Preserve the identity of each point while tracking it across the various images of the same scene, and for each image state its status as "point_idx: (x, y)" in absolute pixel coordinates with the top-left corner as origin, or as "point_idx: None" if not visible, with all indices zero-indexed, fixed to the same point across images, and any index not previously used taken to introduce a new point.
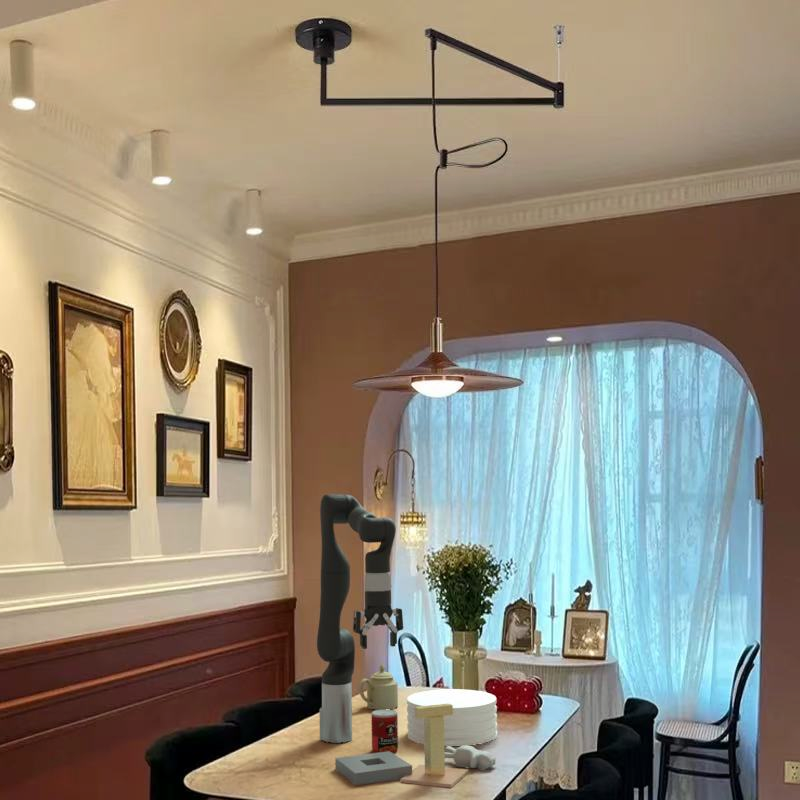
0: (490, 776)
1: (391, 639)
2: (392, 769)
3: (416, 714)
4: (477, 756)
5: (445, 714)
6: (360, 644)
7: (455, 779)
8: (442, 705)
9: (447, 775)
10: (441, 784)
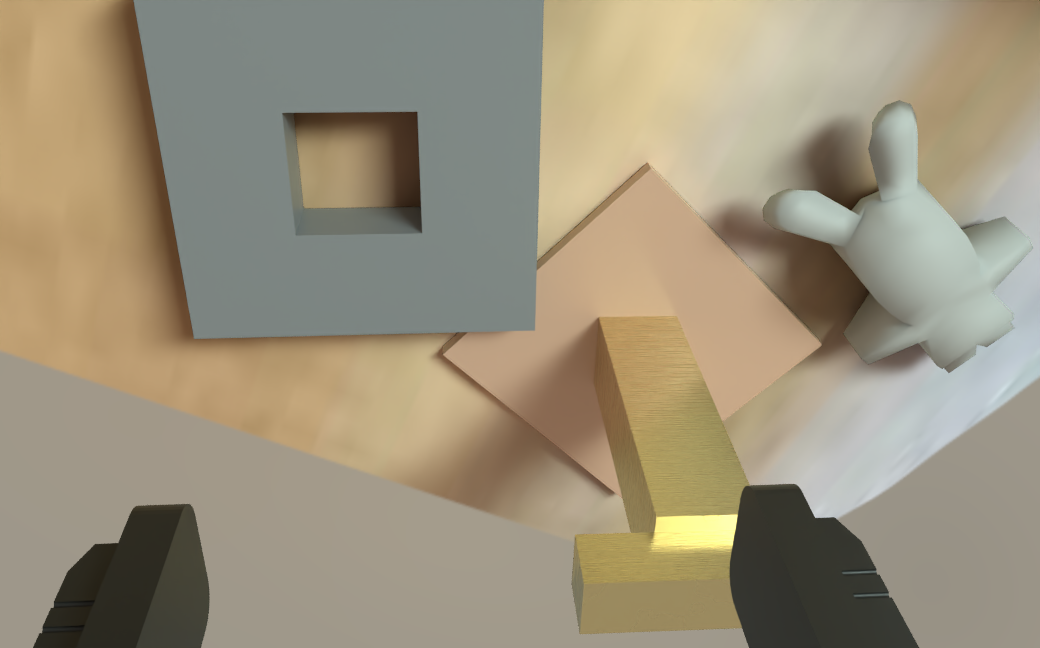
0: (864, 420)
1: (774, 620)
2: (417, 329)
3: (575, 575)
4: (919, 339)
5: None
6: (72, 593)
7: None
8: None
9: None
10: (590, 469)
